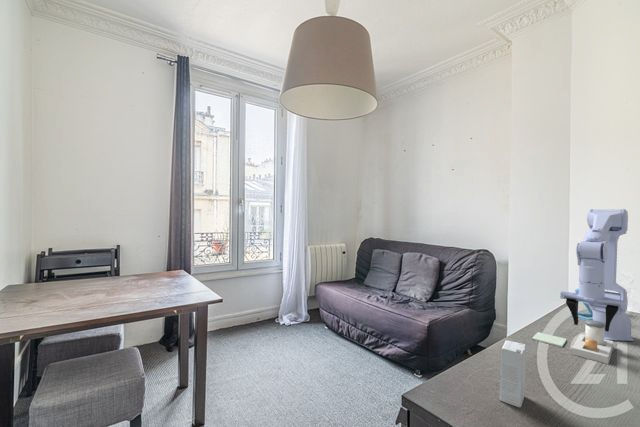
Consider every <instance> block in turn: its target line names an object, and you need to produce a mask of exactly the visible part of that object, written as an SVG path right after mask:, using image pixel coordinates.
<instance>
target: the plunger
mask: <svg viewBox="0 0 640 427" xmlns="http://www.w3.org/2000/svg"><path fill="white" fill-rule="evenodd" d="M597 343H598V342H597V341H596V340H594V339H589V338H586V339H585V347H586V348H588V349H591V350H597Z"/></svg>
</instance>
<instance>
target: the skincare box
mask: <svg viewBox="0 0 640 427" xmlns="http://www.w3.org/2000/svg"><path fill="white" fill-rule="evenodd" d="M500 350H501V351H500V352H501V353H500V371H499V372H500V376H499V379H500V380H499V401H501V402H504V403H505V404H508V405H511V406H514V407H517V408H522V405H523V403H524V398H525V395H526V362H527V344H525V343H520V342H517V341H512V340H507V339H505V341H504V344H503V346H502V347H501V348H500Z"/></svg>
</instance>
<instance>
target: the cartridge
mask: <svg viewBox="0 0 640 427" xmlns="http://www.w3.org/2000/svg"><path fill="white" fill-rule="evenodd" d="M584 325H585V326H584V327H585V331H584V333H585V334H584V335H585V339H586V338H589V339H594V340H596V341H597V342H598V343H597V345H601V346H604V327H605V324H604V323H602V322H599V321H595V320H584Z"/></svg>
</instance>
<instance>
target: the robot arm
mask: <svg viewBox="0 0 640 427" xmlns="http://www.w3.org/2000/svg"><path fill="white" fill-rule="evenodd" d="M586 214H587V215H586V222H587V225H588V227H589V229H588V230H587V231H586V232H585V235H584V238H582V241H580V242H577V244H576V248H575V249H576V250H575V251H576V254H575V255H576V258H577V265H578V289H579V293H576V292H568V291H562V290H561V291H560V292H559V294H560V295H559V296H560V297H559V298H560V299H561V300H565V304H566V306H567V307H568V309H569V311H570V315H571V314H572V315H571V316H572V319H573V325H575V326H578V325H579V318H578V313H579V302H578V301H582V302H581V303H583V302H587V304H588V305H589V306H590V307H591V309H593V311H592V312H593V316H592V317H593V320H595V321H599V322H602V323H604V324H605V327H604V339H605V340H610V341H624V342H625V341H627V342H628V341H630V342H632V341H633V342H634V338H632V320H631V317H630V315H629V314H628V313H626V312H627V311H628V306H629V305H628V292H627V290H626V289H625V288H624V287H623V286H622V285H620V284H618V283H617V269H618V268H617V265H618V263H617V262H618V243H619V242H618V241H619V239H620V237H621V236H622V235H626V234H627V232H628V227H629V225H628V223H629V214H628V210H626V209H625V208H622V209H621V208H620V209H593V208H591V209H589V210H588V211H587V213H586ZM611 291H613V292H611Z"/></svg>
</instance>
